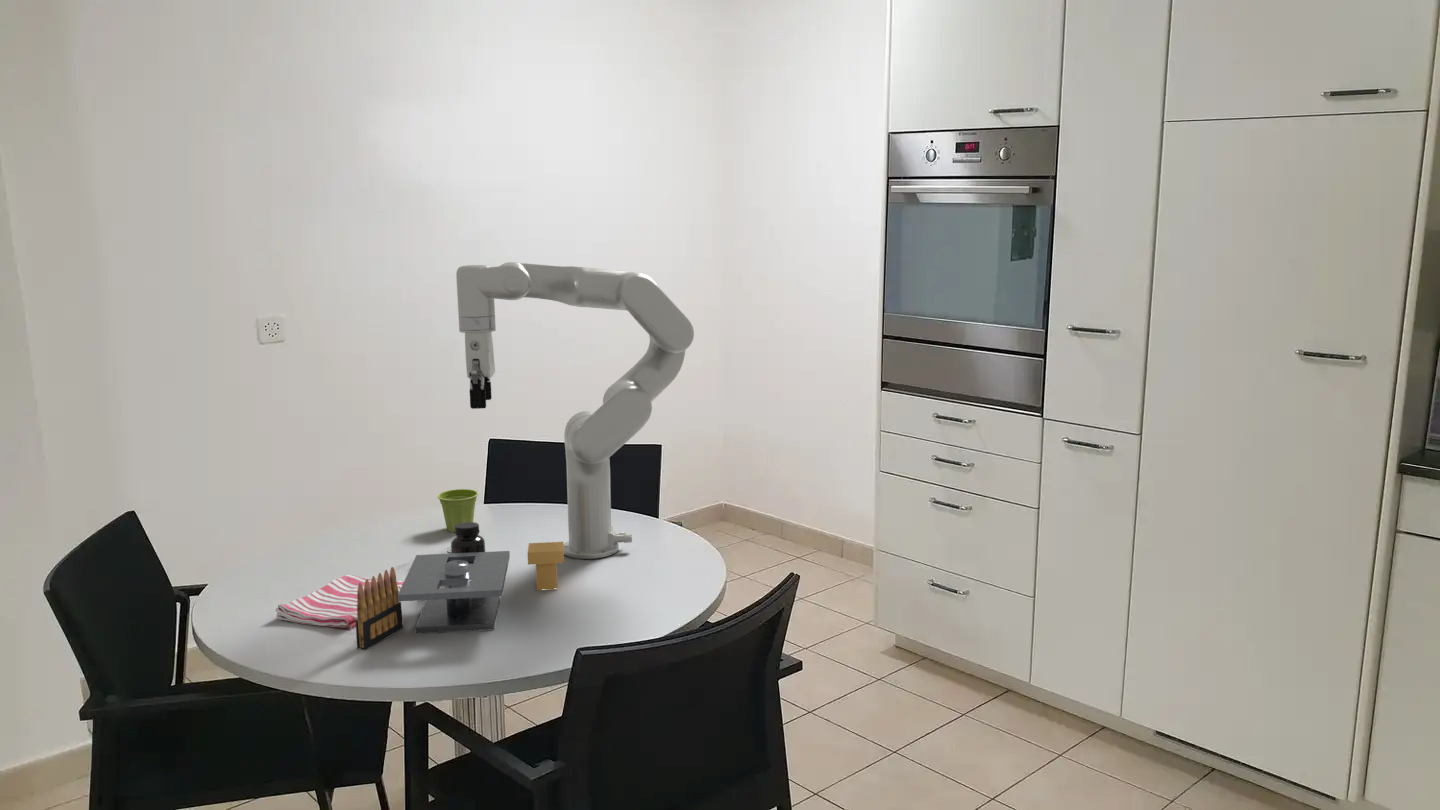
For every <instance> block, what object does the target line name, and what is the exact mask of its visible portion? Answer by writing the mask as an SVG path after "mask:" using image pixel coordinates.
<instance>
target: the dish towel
mask: <svg viewBox="0 0 1440 810" xmlns="http://www.w3.org/2000/svg"><path fill="white" fill-rule="evenodd" d="M366 579H367V580H368V581H369V584H370V587H371V580H372V578H366V577H361V576H357V575H350V574H345V575H343V576H341V577H340V576H339V577H337V578H335V579H332V580H331V581H329V582H328V583H326V585H324V586H322V587H321V588H319V589H317V590H316V591H313V592H310V593H308V594H306V595H305V596H303V597H298V598H296V599H293V600H291V601H288V602H286V603H285V604H282V603H278V605H277V607H276V608H275V612H276V618H277V620H280V621H281V620H282V621H288V622H291V623H295V624H296V623H298V624H302V625H314V626H319V627H331V628H333V627H335V628H344V629H349V630H353V629H354V628H356V621H357V620H358V617H357V590H358V585H359V583H361V584H362V586H363V590H364V585H365V581H366ZM375 579H376V578H375ZM377 579H378V578H377ZM377 579H376V582H377ZM396 581H397V586H398V592H399V591H400V589H401V587H402V585H403V583H404V581H405V580H404V581H402V580H396Z"/></svg>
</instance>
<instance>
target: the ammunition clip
mask: <svg viewBox="0 0 1440 810" xmlns="http://www.w3.org/2000/svg"><path fill="white" fill-rule="evenodd" d="M367 579H368V578H367ZM367 579H366V581H365V585H364V590H363V586H362V584H361V583H359V585H358V590H357V617H358V620H357V621H356V626H355V629H356V632H355V633H356V649H358V650H365V651H366V650H368V649H369V648H372V647H373V646H375V645H377V644H379V643H380V642H382V641H383V640H385V639H387V638H389V637H390V636H392V635H394V634H395V633H398V631H401V630H402V629H404V621H403V610H402V601H399V602H398V594H399V592H398V586H397V581H398V580H397V574H396V571H395V568H394V567H393V566H391V567H390V570H389V571H388V570H387V569H384V573H383V575H382V573H381V572H379V573H378V575H377V582H376V577H375V576H374V575H373V576H372V577H371V579H372V580H371V587H370V584H369V581H368V580H367Z"/></svg>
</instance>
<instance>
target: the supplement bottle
mask: <svg viewBox="0 0 1440 810" xmlns="http://www.w3.org/2000/svg"><path fill="white" fill-rule="evenodd" d="M479 534H480V524H479V523H477V522H474V521H473V522H465V523H460V524H457V525H456V526H455V532H454V535H455V537H454V538H453V539H452V540H451V543H450V547H451V553H473V552H486V543H485V542H486V541H485V538H484V537H483V536H482V535H479ZM451 553H450V554H451ZM468 563H469V564H473V563H474V562H468Z"/></svg>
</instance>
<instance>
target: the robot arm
mask: <svg viewBox="0 0 1440 810" xmlns="http://www.w3.org/2000/svg"><path fill="white" fill-rule="evenodd" d="M456 291H457V293H456V294H457V295H456V296H457V312H458V313H457V314H458V315H457V316H458V329H459V330H458V331H459V333H463V334H464V344H465V345H464V346H465V347H464V348H465V364H466V365H465V367H466V377H467V378H468V379H469V404H470V405H469V407H470V409H472V410H474V409H476V410H477V409H486V408H487V401H491V399H492V398H493V397H492V382H491V378H492V377H494V375H495V373H496V367H495V366H496V365H495V357H494V356H495V355H494V354H495V353H494V343H493V340H494V339H493V334H492V333H493V332H495V331H497V329H496V312H495V309H496V308H495V299H496V300H503V301H504V300H505V301H506V300H507V301H518V300H521V299H523V298H527V299H539V300H540V299H541V300H547V301H554V302H558V303H561V304H565V305H568V306H572V307H578V308H588V309H589V308H590V309H601V310H602V309H604V310H616V311H617V310H618V311H619V310H620V311H627V312H628V313H629V314H630V315H631V316H632V317H633V319H634V320H635V321H636V322H637V323H638V325H639V326H640V327H641V328H642V329H643V330H644V331H645V332H646V333H647V334H648V338H649V345H648V347H647V350H646V352H645V353H644V355H643V356H642V357H641V358H640V359H639V360H638V362H636V364H634V365H633V366H632V367H631V368H629V370H628V371H626V373H624V374H623V375H622V376H621V377H620V378H618V380H616V381H615V382H614V383H612V384H611V385H610V386H609V387H608V388H607V389H605V390H606V391H605V392H604V395H603V397H602V405H601V406H600V407H598V409H596V410H595V411H589V410H586V411H585V410H584V411H579V412H577V413H575V414H574V415H573V416H571V417H570V418H569V419H568V421H567V423H566V425H565V428H564V435H563V436H564V437H563V438H564V449H565V460H566V461H565V462H566V463H565V464H566V489H567V490H566V491H567V522H568V523H567V525H568V526H567V527H568V541H566V542H565V543H564V556H567V557H569V558H574V559H580V560H582V559H583V560H590V559H592V560H593V559H594V560H595V559H601V558H605V557H609V556H613V555H614V554H616V553H617V552H618V551H619V546H620V545H619V544H620V543H623V544H626V543H628V544H629V543H630V544H631V543H633V534H632V533H626V532H627V531H623V532H622V531H620V532H616V531H614V529H613V526H612V510H611V509H612V507H611V506H612V504H611V503H612V500H611V465H610V463H611V462H610V458H611V456H613V455H614V454H615V453H616V452H617V451H618V450H619V449H621V448H622V447H623V446H624V445H625V444H626V443H628V441H630V440H631V439H632V438H633V437H634V436H635V435H636V434H637V433H639V431H640V430H642V429H643V428H644V426H645V425H646V424H647V422H648V421H649V419H650V418H651V414H652V410H653V405H652V402H653V401H654V400H656V398H658V397H659V396H660V394H661V393H662V392H664V391H665V390H666V389H667V388H668V387H669V386H670V385H671V384H672V382H673V381H674V380H675V379H676V377H677V376H679V372H680V371H681V369H682V366H683V363H684V360H685V355H686V350H687V349H688V348H689V347H690V346H691V345H692V343H693V341H694V336H695V332H694V327H693V325H692V323H691V321H690V319H689V318H688V317H687V316H686V315H685V314H684V313H683V312H682V311H681V309H680V308H678V306H677V305H676V304H675V303H674V302H673V300H671V299H670V297H668V295H667V294H666V293H665V291H663V289H662V288H661V287H660V286H659V284H657V282H656V281H655V280H654V279H653V278H652V277H650V276H649V275H647V274H644V273H642V272H638V271H628V270H619V269H607V268H593V267H584V266H573V265H572V266H566V265H565V266H561V265H560V266H559V265H548V264H537V263H527V262H526V263H524V262H516V261H515V262H514V261H513V262H512V261H509V262H504V263H502V264H501V265H499V266H489V265H484V264H471V265H470V264H467V265H461V266H459V267H458V268H457V269H456Z"/></svg>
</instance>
